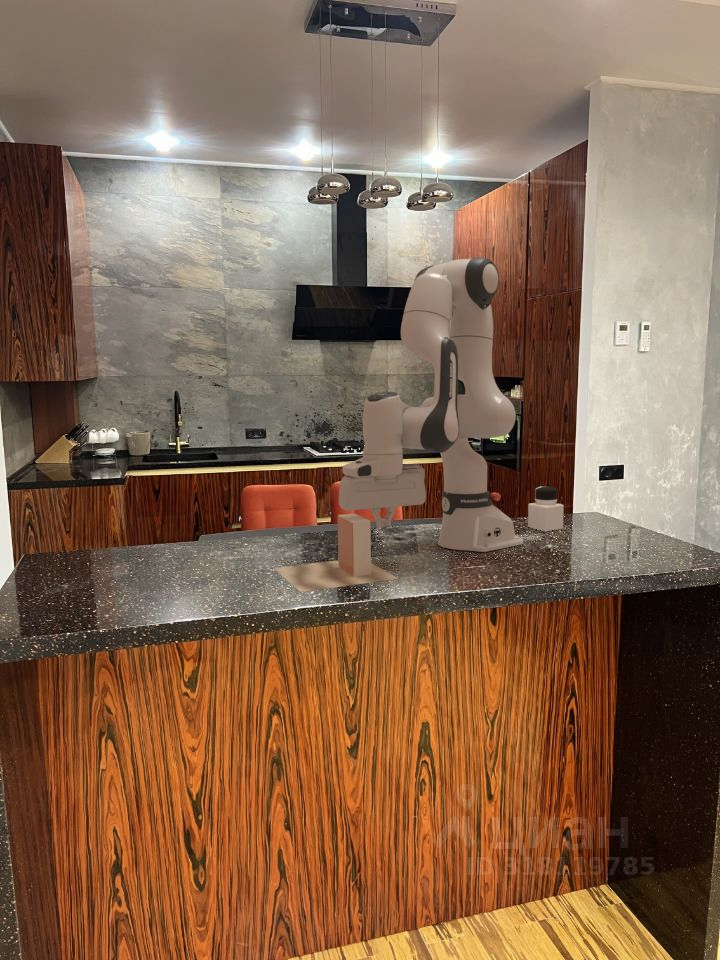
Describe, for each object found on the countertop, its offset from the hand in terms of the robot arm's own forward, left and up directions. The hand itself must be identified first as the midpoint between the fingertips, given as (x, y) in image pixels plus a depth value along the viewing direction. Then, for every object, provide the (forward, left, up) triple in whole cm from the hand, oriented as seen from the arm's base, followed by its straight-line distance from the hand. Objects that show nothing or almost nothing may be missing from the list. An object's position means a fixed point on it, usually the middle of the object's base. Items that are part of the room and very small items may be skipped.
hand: (383, 526), depth 158 cm
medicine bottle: (-61, -21, -11) cm, 65 cm away
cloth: (+12, 0, -10) cm, 16 cm away
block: (+7, 0, -9) cm, 12 cm away
